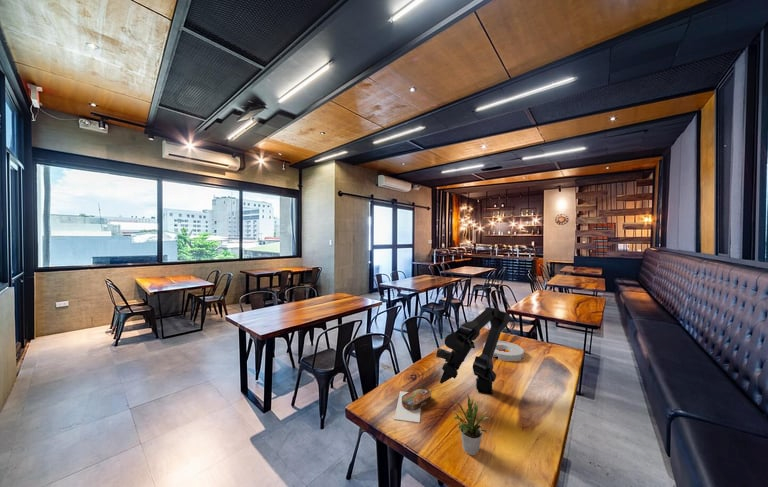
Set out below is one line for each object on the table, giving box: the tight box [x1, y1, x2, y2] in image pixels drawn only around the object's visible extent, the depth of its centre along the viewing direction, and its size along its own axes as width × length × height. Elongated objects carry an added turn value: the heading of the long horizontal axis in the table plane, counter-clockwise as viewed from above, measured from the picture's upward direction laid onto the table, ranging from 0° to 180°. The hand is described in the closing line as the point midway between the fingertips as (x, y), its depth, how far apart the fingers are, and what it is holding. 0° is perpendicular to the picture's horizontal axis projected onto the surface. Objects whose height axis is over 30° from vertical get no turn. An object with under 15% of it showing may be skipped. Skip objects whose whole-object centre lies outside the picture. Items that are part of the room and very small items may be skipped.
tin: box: [402, 387, 432, 410], centre depth 122 cm, size 15×3×8 cm
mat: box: [393, 390, 422, 424], centre depth 119 cm, size 10×20×1 cm, turn 170°
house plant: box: [451, 393, 490, 456], centre depth 96 cm, size 14×14×16 cm
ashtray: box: [482, 340, 525, 362], centre depth 174 cm, size 23×23×4 cm
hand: (440, 382), depth 121 cm, fingers closed
